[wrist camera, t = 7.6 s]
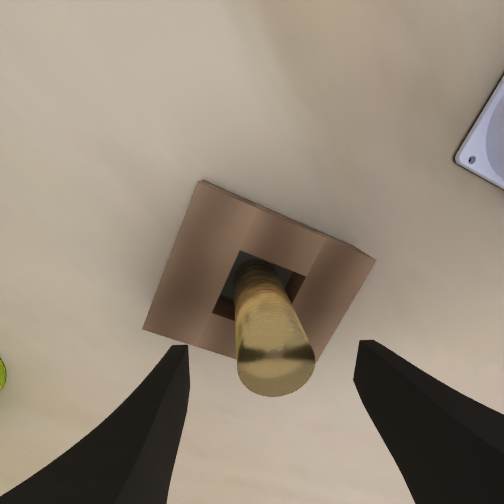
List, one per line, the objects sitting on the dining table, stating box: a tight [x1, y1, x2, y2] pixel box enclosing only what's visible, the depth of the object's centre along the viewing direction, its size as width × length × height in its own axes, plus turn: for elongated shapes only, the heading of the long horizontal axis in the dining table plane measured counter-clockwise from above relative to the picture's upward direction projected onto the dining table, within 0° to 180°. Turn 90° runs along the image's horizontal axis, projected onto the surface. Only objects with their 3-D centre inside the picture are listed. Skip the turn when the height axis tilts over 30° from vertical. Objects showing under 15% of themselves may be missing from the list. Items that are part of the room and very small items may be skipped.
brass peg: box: [233, 259, 315, 397], centre depth 15 cm, size 3×3×9 cm
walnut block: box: [142, 180, 376, 364], centre depth 19 cm, size 12×10×3 cm
